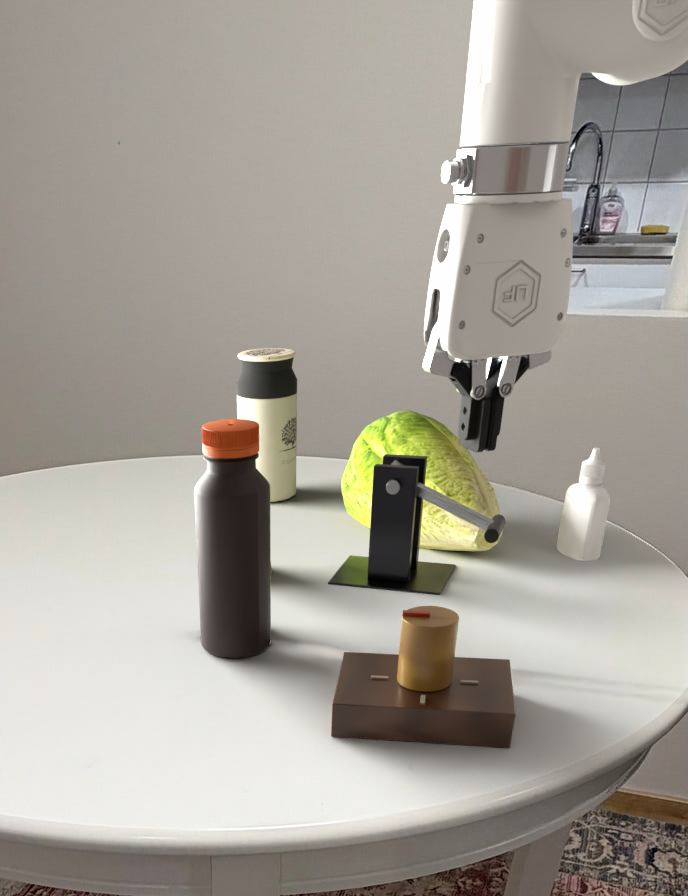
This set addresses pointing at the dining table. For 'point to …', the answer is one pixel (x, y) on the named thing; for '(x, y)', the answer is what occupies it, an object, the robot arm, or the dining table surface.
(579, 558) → the eye dropper bottle
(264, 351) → the travel mug
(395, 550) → the black lever stand
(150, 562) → the dining table surface
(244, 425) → the vinegar
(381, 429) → the lettuce
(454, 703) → the knob panel
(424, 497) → the faucet lever
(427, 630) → the tap knob
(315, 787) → the dining table surface
